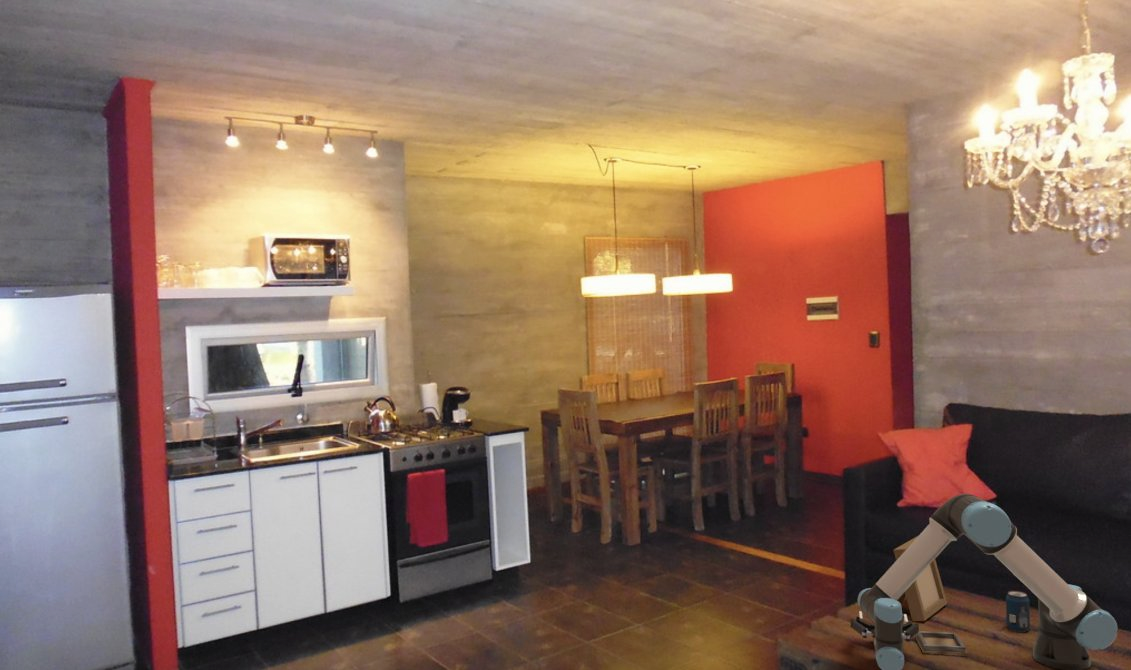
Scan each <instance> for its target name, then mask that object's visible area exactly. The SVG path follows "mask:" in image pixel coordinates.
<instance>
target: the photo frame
mask: <svg viewBox="0 0 1131 670" xmlns="http://www.w3.org/2000/svg"><path fill="white" fill-rule="evenodd" d="M918 536H919V535H917V536H915V537H913V538H912V539H910V540H908V541H906V542H905V543H903V544H901V545H900V546H897V547H896V548H894V549H893V555H894V556H895V557H894V558H895V562H896V561H897V559H898V558H899V557H900V556H901V555H902V554H903V553H904V552H905V551H906V549H907V548H908V547H909V546H910V545H911V544H912V543H913V542H914V540H915V539H916V538H917V537H918ZM943 586H944V585H943V583H942V579H941V576H940V571H939V569H938V565H937V560H936V558H935V559H934V560H933V561H932V562H931V564H930V565H929V566H928V567H927V568H926V569H925V570H924V571H923V572H922V573H921V574H920V576H919V577H918V578H917V579H916V580H915V581H914V582H913V583H912V584H911V585H910V587H909V588H908V589H907V590H906V591H905V592H904V593H903V594H902V595H901V596H900V598H899V599H898V600H897V601H898V602H900V604H901V606H902V605H903V603H904V601H905V599H906V602H907V606H908V610H909V614H910V616H911V617H910V618H911V622H924V621H926V620H928V619H929V618H930V617H932V616H933V615H934V614H935V613H937V612H938V611H940V610H941V609H942V608H943V607H944V606H945V605H947V604H948V601H947V597H946V593H945V589H944V587H943Z"/></svg>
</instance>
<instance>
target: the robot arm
mask: <svg viewBox="0 0 1131 670" xmlns="http://www.w3.org/2000/svg"><path fill="white" fill-rule="evenodd" d="M1017 531H1018V529H1017V527H1016V525H1014V523H1012V521H1011V520H1010V518H1009V516H1008V515H1007V513H1006V512H1005V511H1004V510H1003V509H1002V507H999V506H998V505H996V504H994V503H992V502H989V501H987V500H985V499H982V498H981V497H978V495H977V496H976V495H974V494H970V493H961V494H960V493H959V494H956V495H954V496H952V497H950V498H949V499H948V500H946V501H945V502H943V503H942V504H941V505H940V506H939V507H938V508H937V510H935V512H934V513H933V514H931V516H930V517H929V524H928V525H926V527H925V528H924V529H923V531H922V532H920V534H919V535H917V536H918V537H917V536H916V537H917V538H916V539H915V540H914V542H913V543H912V544H911V545H910V546H909V547H908V548H907V549H906V551H905V552H904V553H903V554H902V555H901V556H900V557H899V558H898V559H897V561H896V560H895V561H894V563H893V564H892V565H891V566H890V567H889V568H888V569H887V570H886V572H885V573H884V574H883V575H882V576H881V577H880V578H879V580H878V581H876V583H875V584H874V585H873V586H872V587H869V588H865V589H862V590H861V591H860V592H859V594H858V596H857V603H858V606H859V608H860V610H861V611H860V610H859V612H858V616H856V617H855V618H851V619H850V628H851V629H853V630H854V631H856V633H857V634H859V635H861V637H862V638H863V639H867V637H869V636H870V637H872V638H873V639H872V640H873V645H874V651H875V652H874V653H875V661H876V663H877V665H878V668H880V669H881V670H902V669H903V668H904V667H905V655H904V641H903V639H904V640H905V642H910V640H911V639H912V638H913V637H915V635H917V633H918V632H919V631H920V630H919V628H920V625H919V623H917V622H916V623H913V621H912V619H911V620H910V619H908V616H907V614H906V613H904V614H903V610H902V609H903V608H902V605H901V604H900V602H898V601H897V600H898V599H899V598H900V596H901V595H902V594H903V593H904V592H905V591H906V590H907V589H908V588H909V587H910V585H911V584H912V583H913V582H914V581H915V580H916V579H917V578H918V577H919V576H920V574H921V573H922V572H923V571H924V570H925V569H926V568H927V567H928V566H929V565H930V564H931V562H932V561H933V560H934V559H935V560H936V558H937V557H938V556H939V555H940V554H941V553H942V552H943V551H944V549H946V547H947V546H948V545H949V544H950V543H951V542H955V541H957V540H958V539H960V538H961V536H963V535H964V536H965V537H967V538H968V539H969V540H970V541H971V542H972V543H973V544H974V545H976V546H977V548H978V549H980V551H982V552H983V553H984V554H985V555H988V556H989V555H990V556H991V555H994V557H995V558H996V559H997V560H999V562H1001V564H1002V565H1004V566H1005V567H1006V568H1007V569H1008V570H1009V571H1010V572H1011V573H1012V574H1013V576H1015V577H1016V578H1017V579H1018V580H1019V581H1020V582H1021V583H1023V585H1024V586H1025V587H1026V588H1027V589H1028V590H1030V591H1031V593H1033V595H1034V596H1036V597H1037V606H1038V607H1037V608H1038V609H1037V610H1038V612H1037V613H1038V634H1037V637H1036V639H1035V642H1034V644H1033V647H1032V657H1033V659H1034V660H1035V661H1036V662H1037V663H1039V664H1041V665H1043V664H1044V666H1047V667H1049V668H1053V669H1056V670H1057V669H1058V670H1088V669H1089V668H1090V667H1091V665H1092V664H1091V663H1092V662H1091V655H1090V653H1089V651H1088V650H1090V651H1091V650H1092V651H1101V650H1105V649H1107V648H1108V647H1109V646H1111V645H1112V643H1114V641H1115V640H1116V638H1117V636H1118V623H1117V621H1116V620H1115V618H1114V617H1113V615H1112V614H1111V613H1110V612H1108V611H1107V610H1104V609H1102V608H1101V607H1100V606H1098V605H1097V604H1096V602H1094V600H1092V598H1090V596H1088V595H1087V594H1086V593H1085V592H1083V589H1082V588H1081V587H1080V586H1078V585H1075V584H1074V585H1073V584H1068V583H1067V582H1066V581H1065V580H1064V579H1063V578H1062V577H1061V576H1060V575H1059V574H1058V573H1056V571H1055V570H1054V569H1052V568H1051V566H1049V565H1048V564H1047V563H1046V562H1045V561H1044V560H1043V559H1042V558H1041V557H1040V556H1039V555H1038V554H1037V553H1036V552H1035V551H1034V550H1033V549H1032V548H1031V547H1030V546H1029V545H1027V543H1026V542H1024V540H1023V539H1021V538H1020V537H1019V535H1017V534H1018V532H1017ZM863 614H864V615H866V617H867V618H868V619H869V620H870V621H871V622H872V623H873V624H871V623H869V622H868V621H864V620H863V618H864V617H863Z"/></svg>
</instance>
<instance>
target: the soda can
mask: <svg viewBox="0 0 1131 670" xmlns="http://www.w3.org/2000/svg"><path fill="white" fill-rule="evenodd" d="M1005 614H1006V616H1005V617H1006V618H1005V621H1006V626H1007V627H1008V630H1010V631H1012V630H1013V632H1016V631H1017V632H1016V633H1026V631H1027V632H1028V631H1029V629H1030V627H1031V621H1030V620H1031V618H1030V617H1031V615H1030V599H1029V597H1028V594H1027V593H1026V592H1023V591H1021V590H1009V591H1008V592H1007V595H1006V597H1005Z"/></svg>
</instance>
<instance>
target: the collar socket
mask: <svg viewBox="0 0 1131 670" xmlns="http://www.w3.org/2000/svg"><path fill="white" fill-rule="evenodd" d="M915 637H916V638H915ZM914 638H915V641H916V642H917V644H918V647H919V649H920V648H921V649H920V650H922V651H921V653H922V652H923V653H931V654H930V655H934V654H939V655H938V656H953V655H954V656H955V657H957V656H959V657H968V656H969V652H968V651H967V650H966V646H965V645H964V643H963V641H962V640H961V638H960V636H959V634H957V632H947V631H946V632H944V631H943V632H940V631H923V630H922V631H920V630H919V632H918V633H917V634H916V635H914ZM923 653H922V654H923ZM941 654H943V655H941Z"/></svg>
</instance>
